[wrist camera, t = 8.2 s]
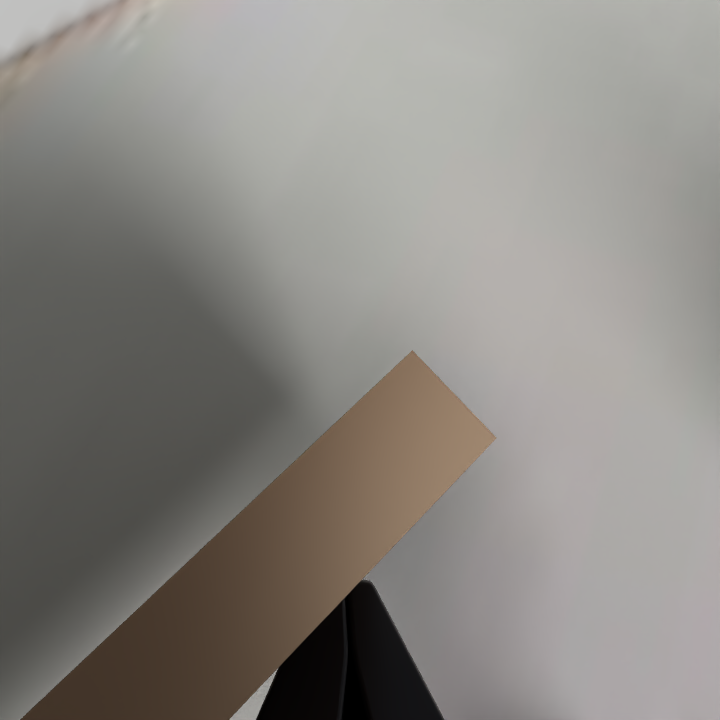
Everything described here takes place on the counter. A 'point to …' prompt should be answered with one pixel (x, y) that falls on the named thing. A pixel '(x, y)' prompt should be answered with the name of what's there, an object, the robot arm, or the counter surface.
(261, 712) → the robot arm
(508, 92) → the counter surface
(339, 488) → the gate leaf
